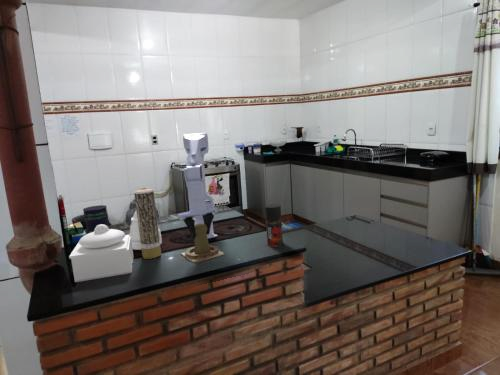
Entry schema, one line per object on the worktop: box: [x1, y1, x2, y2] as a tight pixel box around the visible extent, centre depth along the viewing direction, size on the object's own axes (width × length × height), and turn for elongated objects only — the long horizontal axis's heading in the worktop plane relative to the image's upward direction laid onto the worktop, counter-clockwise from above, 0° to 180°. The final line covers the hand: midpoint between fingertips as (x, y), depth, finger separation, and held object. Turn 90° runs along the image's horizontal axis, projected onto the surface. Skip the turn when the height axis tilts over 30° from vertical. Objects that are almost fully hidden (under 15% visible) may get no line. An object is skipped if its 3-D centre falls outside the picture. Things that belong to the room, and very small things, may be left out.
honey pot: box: [128, 210, 163, 251], centre depth 150 cm, size 13×13×18 cm
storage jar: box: [82, 205, 111, 235], centre depth 163 cm, size 10×10×15 cm
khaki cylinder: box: [193, 224, 211, 254], centre depth 132 cm, size 6×6×11 cm
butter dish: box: [68, 224, 135, 283], centre depth 126 cm, size 18×18×16 cm
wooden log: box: [133, 188, 162, 260], centre depth 134 cm, size 7×7×25 cm
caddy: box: [180, 244, 225, 264], centre depth 133 cm, size 12×12×2 cm
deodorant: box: [264, 203, 284, 248], centre depth 137 cm, size 6×6×15 cm
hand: (200, 235), depth 132 cm, fingers closed on khaki cylinder, 5 cm apart
